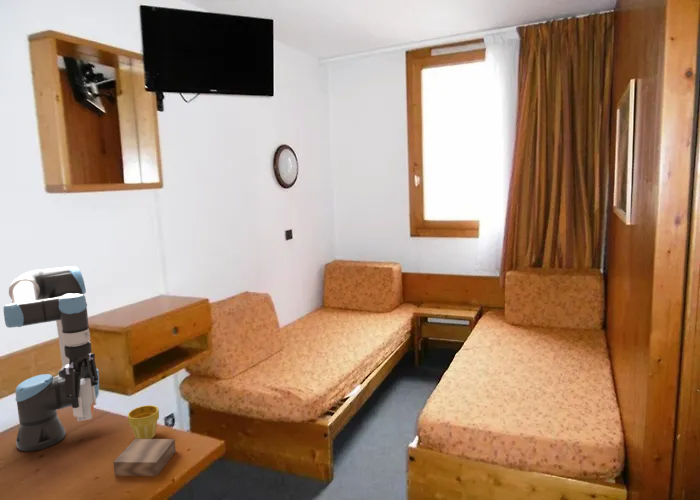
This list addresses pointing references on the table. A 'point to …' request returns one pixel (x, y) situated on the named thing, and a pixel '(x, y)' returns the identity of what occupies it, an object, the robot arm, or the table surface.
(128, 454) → the walnut block
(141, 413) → the plant pot
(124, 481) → the table surface
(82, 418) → the skincare box
